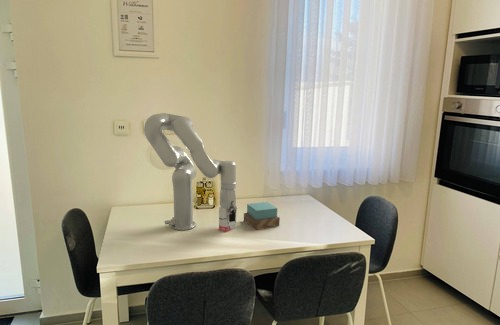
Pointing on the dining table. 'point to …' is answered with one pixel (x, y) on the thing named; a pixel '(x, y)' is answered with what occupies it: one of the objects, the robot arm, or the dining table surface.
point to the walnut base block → (261, 222)
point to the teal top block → (262, 210)
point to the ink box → (225, 220)
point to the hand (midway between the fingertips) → (228, 218)
